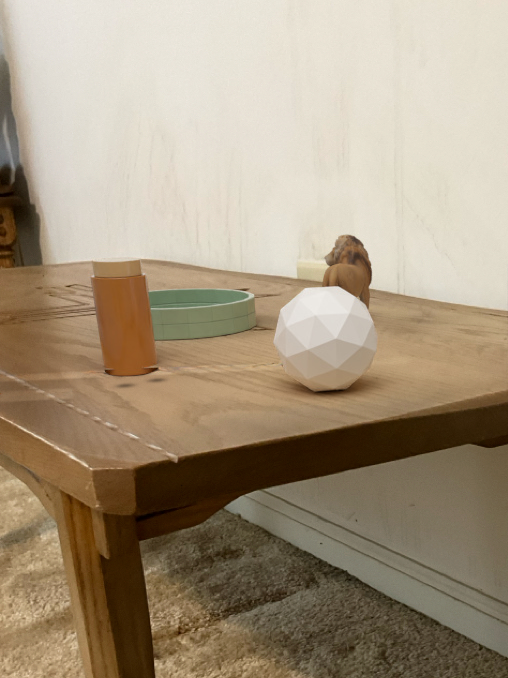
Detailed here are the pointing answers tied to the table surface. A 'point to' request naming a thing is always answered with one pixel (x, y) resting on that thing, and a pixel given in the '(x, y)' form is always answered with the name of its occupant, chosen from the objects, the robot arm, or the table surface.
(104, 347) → the spice jar
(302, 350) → the geometric ball
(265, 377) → the table surface
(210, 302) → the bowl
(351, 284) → the lion figurine
